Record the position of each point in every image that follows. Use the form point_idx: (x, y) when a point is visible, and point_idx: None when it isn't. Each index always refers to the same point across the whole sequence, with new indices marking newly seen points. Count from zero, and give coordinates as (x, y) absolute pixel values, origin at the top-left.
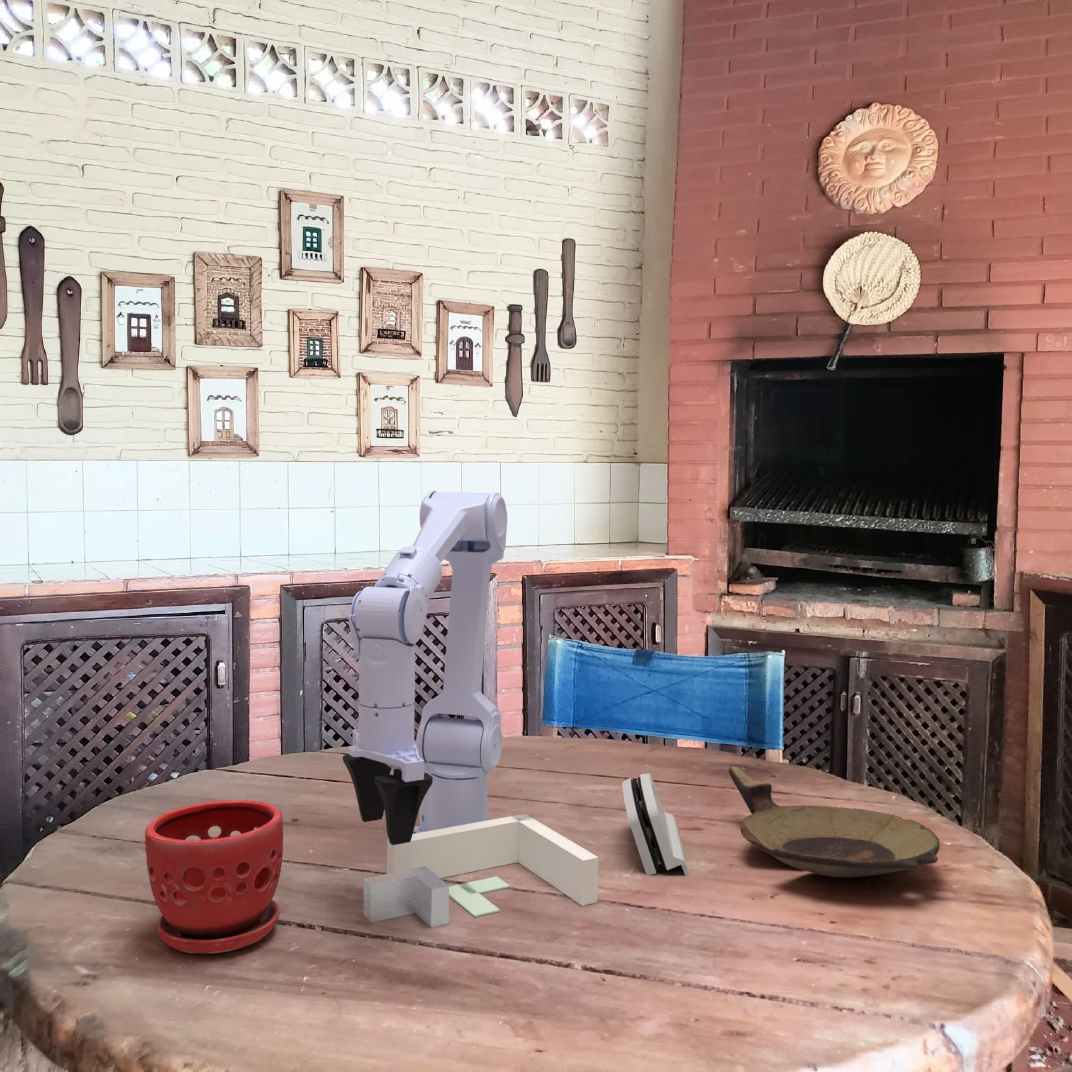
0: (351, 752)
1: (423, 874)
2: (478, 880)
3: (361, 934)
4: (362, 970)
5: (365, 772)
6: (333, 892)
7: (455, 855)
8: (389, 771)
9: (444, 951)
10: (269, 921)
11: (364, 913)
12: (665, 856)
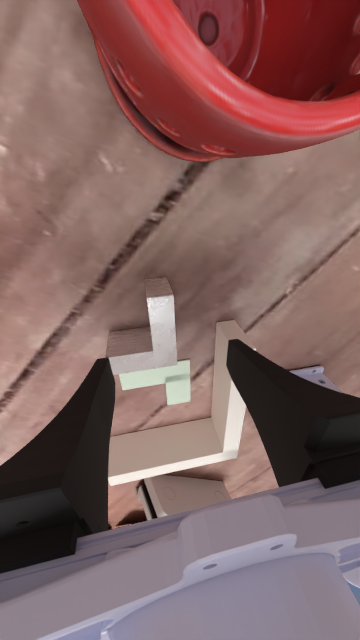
0: (213, 536)
1: (154, 359)
2: (189, 388)
3: (117, 261)
4: (14, 235)
5: (281, 419)
6: (241, 262)
7: (219, 389)
8: (266, 450)
9: (48, 329)
10: (137, 121)
11: (164, 278)
12: (142, 495)
